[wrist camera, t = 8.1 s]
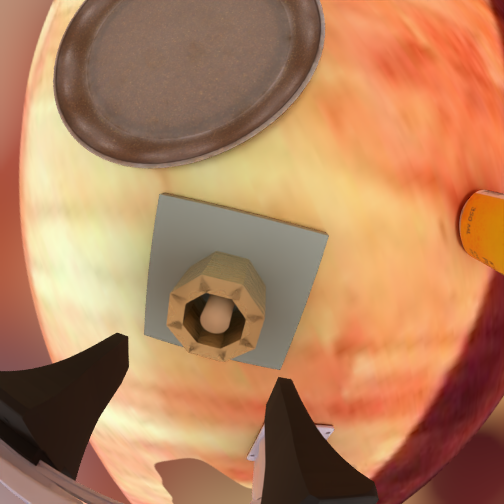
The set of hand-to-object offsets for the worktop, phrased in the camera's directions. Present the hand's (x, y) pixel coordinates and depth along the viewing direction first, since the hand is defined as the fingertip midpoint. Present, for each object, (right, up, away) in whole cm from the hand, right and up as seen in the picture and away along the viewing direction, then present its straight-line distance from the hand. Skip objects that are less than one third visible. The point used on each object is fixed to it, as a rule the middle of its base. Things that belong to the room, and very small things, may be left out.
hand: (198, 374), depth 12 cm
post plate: (+1, +3, +9) cm, 10 cm away
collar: (0, +3, +8) cm, 9 cm away
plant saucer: (-3, +22, +4) cm, 22 cm away
